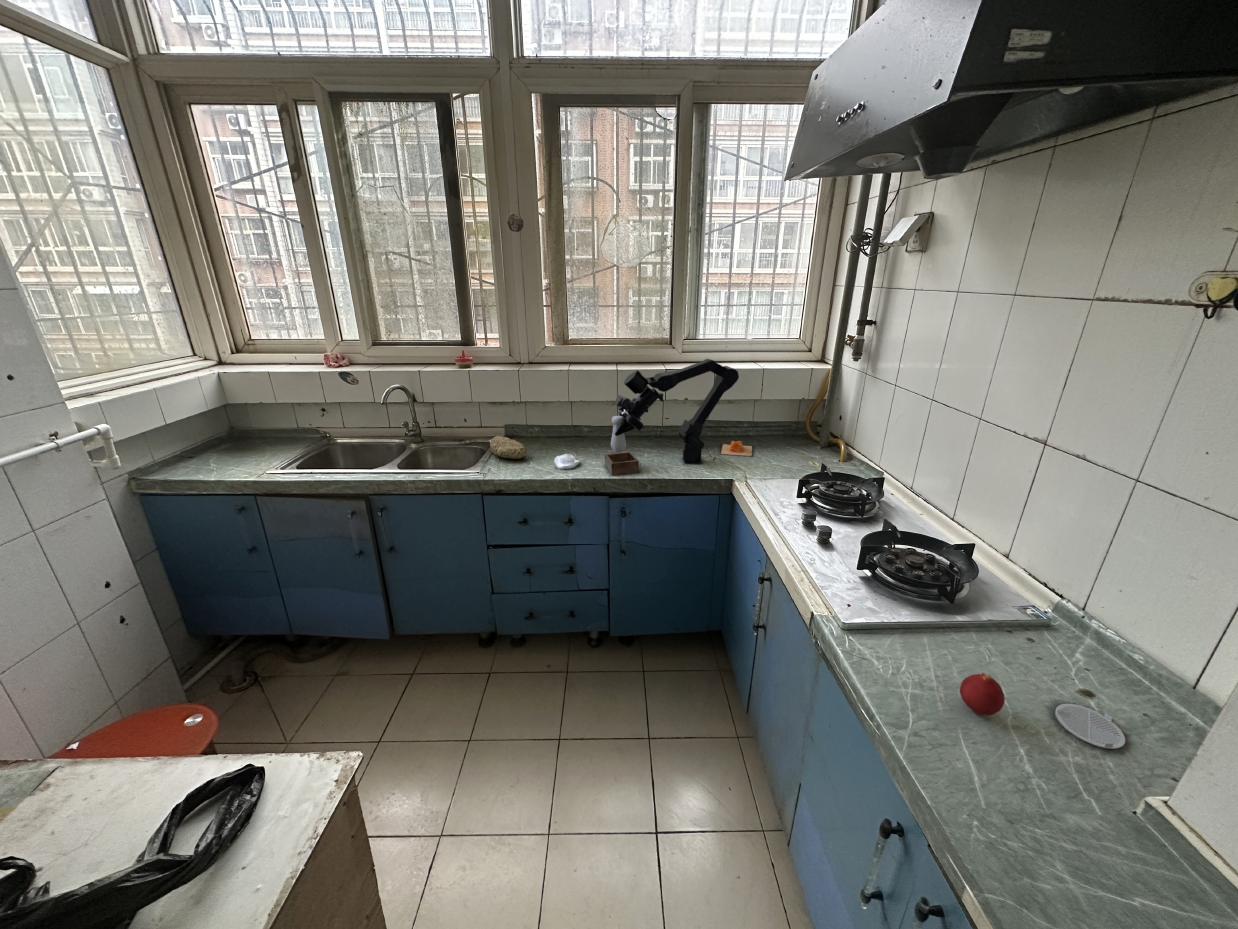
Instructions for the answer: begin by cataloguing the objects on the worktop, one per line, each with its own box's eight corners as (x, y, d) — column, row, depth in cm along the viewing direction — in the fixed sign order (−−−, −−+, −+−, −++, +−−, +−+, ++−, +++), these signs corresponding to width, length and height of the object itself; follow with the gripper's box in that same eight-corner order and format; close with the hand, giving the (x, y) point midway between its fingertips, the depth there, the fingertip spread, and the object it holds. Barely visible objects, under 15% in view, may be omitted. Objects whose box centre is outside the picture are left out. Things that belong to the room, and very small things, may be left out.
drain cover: (1056, 696, 85) (1058, 692, 84) (1123, 723, 80) (1125, 718, 79) (1053, 728, 79) (1055, 723, 79) (1126, 759, 74) (1128, 754, 73)
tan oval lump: (488, 453, 207) (492, 459, 188) (489, 434, 206) (493, 438, 187) (520, 455, 211) (527, 461, 192) (521, 436, 210) (528, 441, 192)
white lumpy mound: (550, 451, 191) (574, 448, 194) (551, 462, 192) (574, 458, 196) (558, 460, 182) (583, 456, 186) (559, 471, 184) (583, 467, 188)
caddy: (630, 462, 191) (630, 451, 190) (638, 472, 182) (638, 460, 180) (604, 465, 189) (604, 454, 187) (611, 475, 180) (611, 463, 178)
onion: (981, 697, 85) (993, 660, 82) (1006, 726, 80) (1020, 687, 77) (947, 698, 85) (958, 661, 82) (971, 727, 79) (983, 688, 77)
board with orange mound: (752, 446, 208) (753, 436, 206) (751, 456, 196) (752, 446, 195) (722, 444, 210) (723, 434, 209) (720, 453, 199) (721, 443, 198)
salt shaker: (623, 446, 188) (623, 413, 183) (628, 451, 183) (627, 417, 178) (608, 448, 187) (607, 415, 182) (613, 453, 181) (612, 419, 177)
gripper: (622, 382, 186) (594, 413, 188) (633, 393, 169) (602, 427, 171) (643, 401, 190) (615, 431, 192) (656, 414, 173) (625, 446, 175)
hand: (614, 433), depth 182 cm, fingers closed on salt shaker, 3 cm apart
